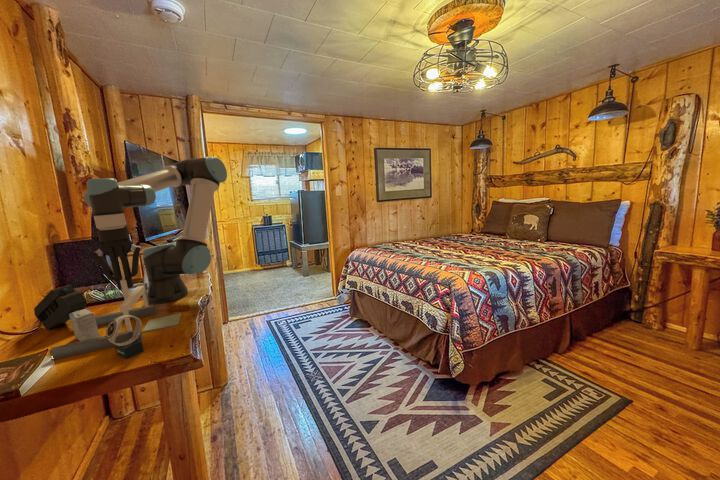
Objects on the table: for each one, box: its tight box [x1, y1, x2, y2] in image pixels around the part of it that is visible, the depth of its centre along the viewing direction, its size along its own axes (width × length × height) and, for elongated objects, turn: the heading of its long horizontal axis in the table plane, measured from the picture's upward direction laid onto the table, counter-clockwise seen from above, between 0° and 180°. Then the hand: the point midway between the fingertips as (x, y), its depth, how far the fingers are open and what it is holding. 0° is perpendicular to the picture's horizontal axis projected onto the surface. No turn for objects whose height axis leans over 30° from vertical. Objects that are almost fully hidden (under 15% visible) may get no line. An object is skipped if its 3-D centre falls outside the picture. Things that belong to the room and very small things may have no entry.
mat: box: [142, 313, 183, 334], centre depth 103 cm, size 10×10×1 cm
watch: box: [105, 315, 145, 360], centre depth 83 cm, size 6×8×11 cm
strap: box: [119, 282, 150, 332], centre depth 100 cm, size 2×24×9 cm, turn 24°
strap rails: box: [48, 304, 158, 360], centre depth 98 cm, size 21×24×3 cm
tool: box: [33, 284, 88, 331], centre depth 105 cm, size 6×19×15 cm
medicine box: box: [69, 309, 101, 342], centre depth 95 cm, size 8×4×9 cm, turn 56°
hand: (128, 298), depth 99 cm, fingers closed
